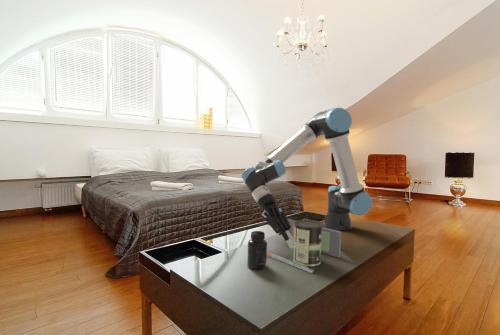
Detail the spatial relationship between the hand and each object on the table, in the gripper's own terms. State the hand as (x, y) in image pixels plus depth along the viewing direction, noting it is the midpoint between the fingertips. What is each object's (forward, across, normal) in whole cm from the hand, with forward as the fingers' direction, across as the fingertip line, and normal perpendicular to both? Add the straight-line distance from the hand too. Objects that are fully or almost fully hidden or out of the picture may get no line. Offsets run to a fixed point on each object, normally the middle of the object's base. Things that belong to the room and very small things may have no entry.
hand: (294, 246), depth 100 cm
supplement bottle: (+1, -18, +5) cm, 18 cm away
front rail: (+3, -7, +3) cm, 8 cm away
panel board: (+2, +12, +3) cm, 13 cm away
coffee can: (+7, 0, -2) cm, 7 cm away
